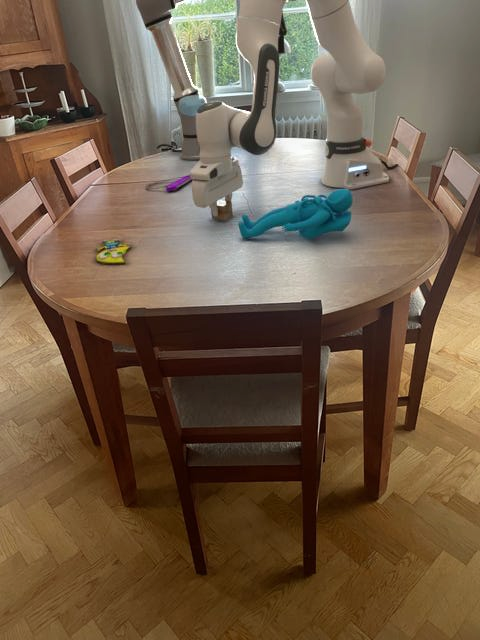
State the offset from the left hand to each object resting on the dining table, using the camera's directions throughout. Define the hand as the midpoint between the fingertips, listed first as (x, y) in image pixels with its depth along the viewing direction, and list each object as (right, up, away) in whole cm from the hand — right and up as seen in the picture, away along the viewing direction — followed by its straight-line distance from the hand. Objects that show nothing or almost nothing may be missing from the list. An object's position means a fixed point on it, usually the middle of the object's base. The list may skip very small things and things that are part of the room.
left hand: (273, 55), depth 206 cm
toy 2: (0, -91, -77) cm, 119 cm away
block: (-20, -83, -62) cm, 105 cm away
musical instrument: (-39, -62, -27) cm, 78 cm away
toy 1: (-49, -96, -77) cm, 132 cm away
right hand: (-20, -82, -63) cm, 105 cm away
